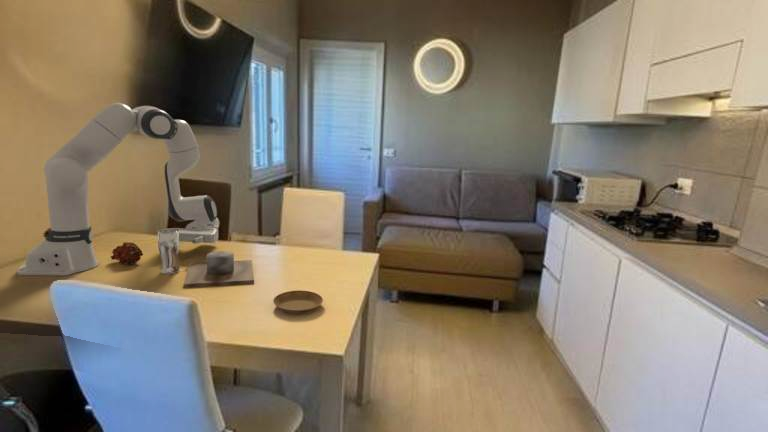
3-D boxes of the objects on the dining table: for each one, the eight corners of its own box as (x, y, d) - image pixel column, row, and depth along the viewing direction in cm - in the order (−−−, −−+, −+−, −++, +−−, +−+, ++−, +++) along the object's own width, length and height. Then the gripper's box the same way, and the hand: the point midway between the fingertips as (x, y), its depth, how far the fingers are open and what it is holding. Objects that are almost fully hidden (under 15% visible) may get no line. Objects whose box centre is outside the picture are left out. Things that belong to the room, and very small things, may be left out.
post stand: (183, 287, 141) (182, 266, 139) (189, 265, 161) (189, 247, 160) (254, 283, 148) (253, 263, 146) (251, 263, 168) (251, 245, 167)
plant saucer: (332, 308, 132) (332, 300, 132) (293, 323, 121) (293, 314, 121) (302, 294, 142) (302, 286, 141) (263, 306, 131) (263, 298, 130)
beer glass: (184, 269, 158) (183, 229, 155) (174, 275, 151) (172, 233, 148) (166, 267, 158) (164, 227, 155) (155, 273, 151) (152, 232, 148)
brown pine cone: (140, 270, 158) (115, 270, 162) (153, 252, 164) (128, 252, 168) (125, 255, 152) (99, 255, 156) (139, 237, 158) (114, 237, 162)
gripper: (170, 222, 176) (153, 231, 162) (221, 225, 176) (208, 234, 163) (171, 237, 177) (154, 247, 163) (221, 240, 177) (209, 250, 164)
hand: (181, 240), depth 163 cm, fingers open, 8 cm apart
